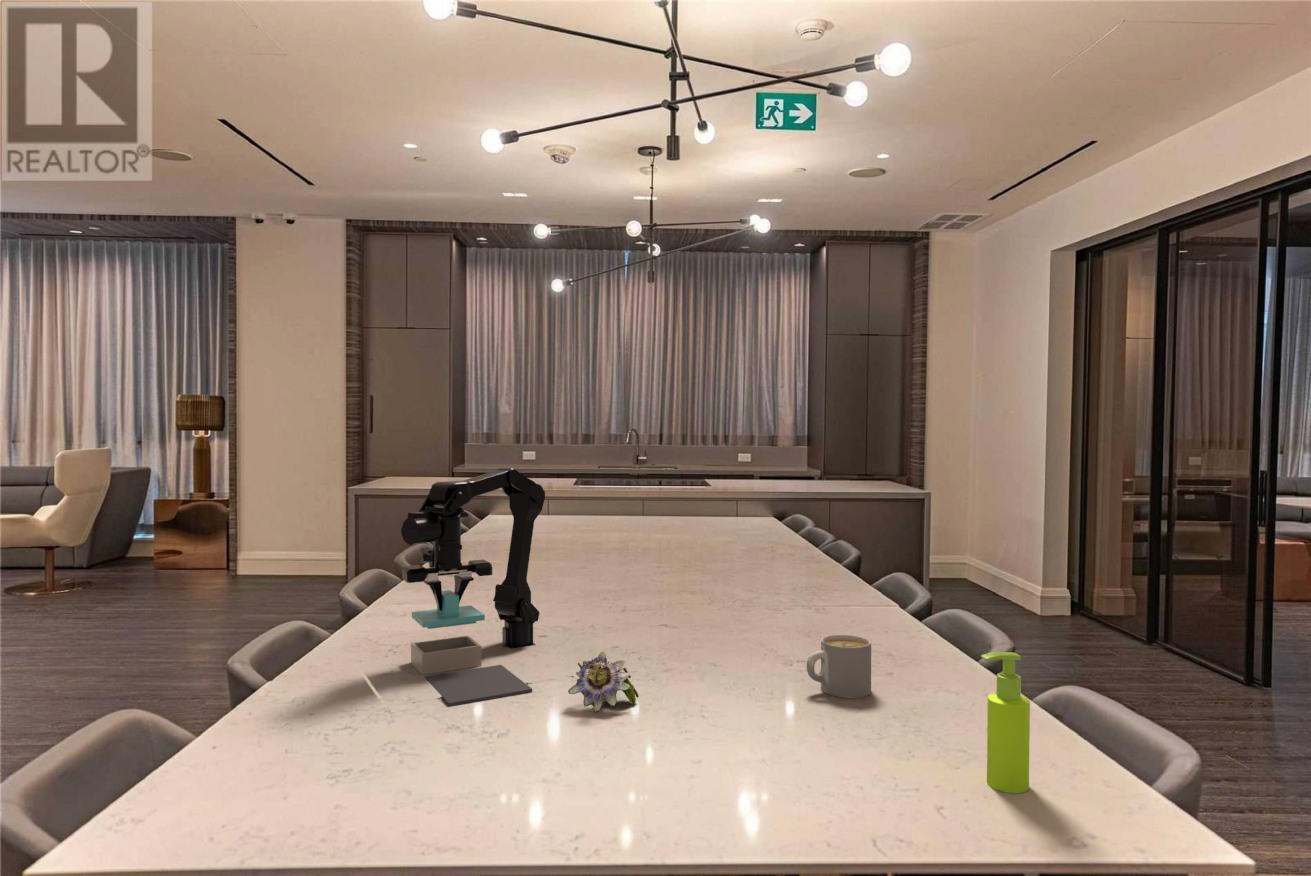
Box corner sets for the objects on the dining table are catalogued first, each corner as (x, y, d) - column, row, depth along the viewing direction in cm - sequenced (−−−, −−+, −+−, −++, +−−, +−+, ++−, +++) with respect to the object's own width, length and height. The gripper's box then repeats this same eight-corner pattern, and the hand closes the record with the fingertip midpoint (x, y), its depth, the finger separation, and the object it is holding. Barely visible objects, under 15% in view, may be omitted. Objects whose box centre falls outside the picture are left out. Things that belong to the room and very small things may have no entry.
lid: (471, 613, 193) (470, 586, 193) (484, 623, 184) (484, 594, 184) (411, 620, 187) (411, 592, 186) (423, 631, 177) (422, 601, 177)
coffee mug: (862, 681, 176) (862, 634, 176) (877, 697, 166) (878, 647, 166) (799, 682, 175) (799, 635, 175) (811, 698, 165) (811, 648, 165)
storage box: (468, 656, 194) (467, 635, 194) (481, 668, 185) (481, 645, 185) (411, 665, 188) (410, 642, 188) (422, 677, 179) (422, 654, 179)
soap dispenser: (973, 777, 129) (974, 648, 129) (1016, 775, 130) (1017, 647, 129) (991, 794, 124) (992, 659, 123) (1036, 792, 124) (1038, 658, 124)
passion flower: (598, 739, 159) (560, 692, 157) (599, 708, 170) (564, 664, 167) (647, 707, 158) (610, 659, 156) (645, 679, 168) (611, 633, 166)
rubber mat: (501, 667, 186) (501, 664, 186) (532, 691, 170) (532, 688, 170) (424, 679, 178) (424, 676, 178) (448, 706, 161) (448, 703, 161)
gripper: (478, 531, 196) (478, 598, 197) (396, 537, 187) (396, 607, 188) (492, 538, 187) (493, 607, 187) (407, 544, 178) (408, 617, 178)
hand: (448, 609), depth 185 cm, fingers closed on lid, 3 cm apart
